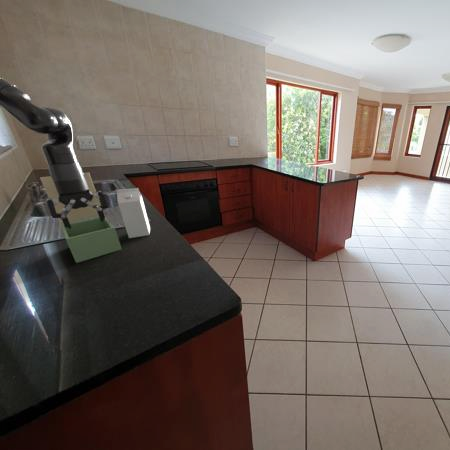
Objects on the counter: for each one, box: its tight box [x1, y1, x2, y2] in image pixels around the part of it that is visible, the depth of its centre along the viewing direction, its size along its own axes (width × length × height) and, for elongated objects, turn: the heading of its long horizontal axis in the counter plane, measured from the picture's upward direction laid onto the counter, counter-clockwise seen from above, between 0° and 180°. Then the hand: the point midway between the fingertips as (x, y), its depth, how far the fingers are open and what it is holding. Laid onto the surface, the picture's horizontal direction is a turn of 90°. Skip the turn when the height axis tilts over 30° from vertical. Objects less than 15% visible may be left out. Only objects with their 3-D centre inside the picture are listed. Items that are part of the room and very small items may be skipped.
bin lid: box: [39, 172, 102, 225], centre depth 86 cm, size 16×13×5 cm
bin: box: [60, 216, 122, 264], centre depth 85 cm, size 16×13×9 cm
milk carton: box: [115, 187, 151, 239], centre depth 94 cm, size 7×7×19 cm
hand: (86, 224), depth 81 cm, fingers open, 8 cm apart
